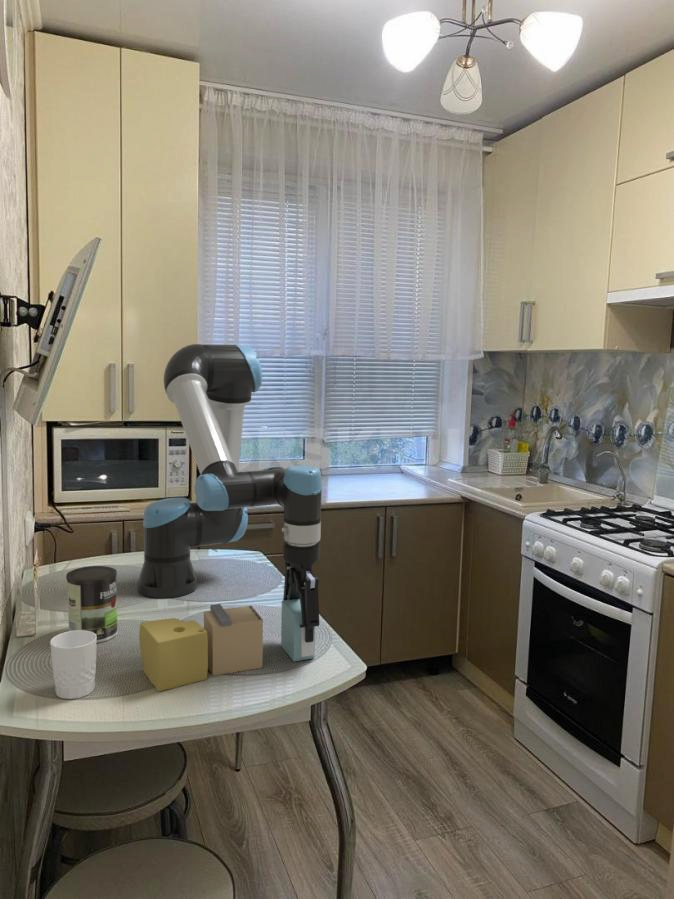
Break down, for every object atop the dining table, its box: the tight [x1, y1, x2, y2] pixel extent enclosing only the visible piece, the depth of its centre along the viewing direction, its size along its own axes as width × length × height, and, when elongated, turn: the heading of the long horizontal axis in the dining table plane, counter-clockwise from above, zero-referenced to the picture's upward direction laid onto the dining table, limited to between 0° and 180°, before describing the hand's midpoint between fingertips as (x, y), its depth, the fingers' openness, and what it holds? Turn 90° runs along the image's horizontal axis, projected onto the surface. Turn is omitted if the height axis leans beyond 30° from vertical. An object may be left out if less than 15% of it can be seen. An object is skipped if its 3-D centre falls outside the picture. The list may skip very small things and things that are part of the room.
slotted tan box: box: [203, 603, 264, 677], centre depth 137 cm, size 9×10×11 cm
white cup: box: [50, 630, 98, 700], centre depth 124 cm, size 8×8×10 cm
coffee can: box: [65, 565, 119, 644], centre depth 148 cm, size 10×10×14 cm
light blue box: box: [280, 599, 316, 662], centre depth 142 cm, size 8×4×10 cm, turn 23°
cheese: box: [138, 617, 209, 692], centre depth 131 cm, size 10×11×10 cm
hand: (299, 646), depth 143 cm, fingers closed on light blue box, 8 cm apart
